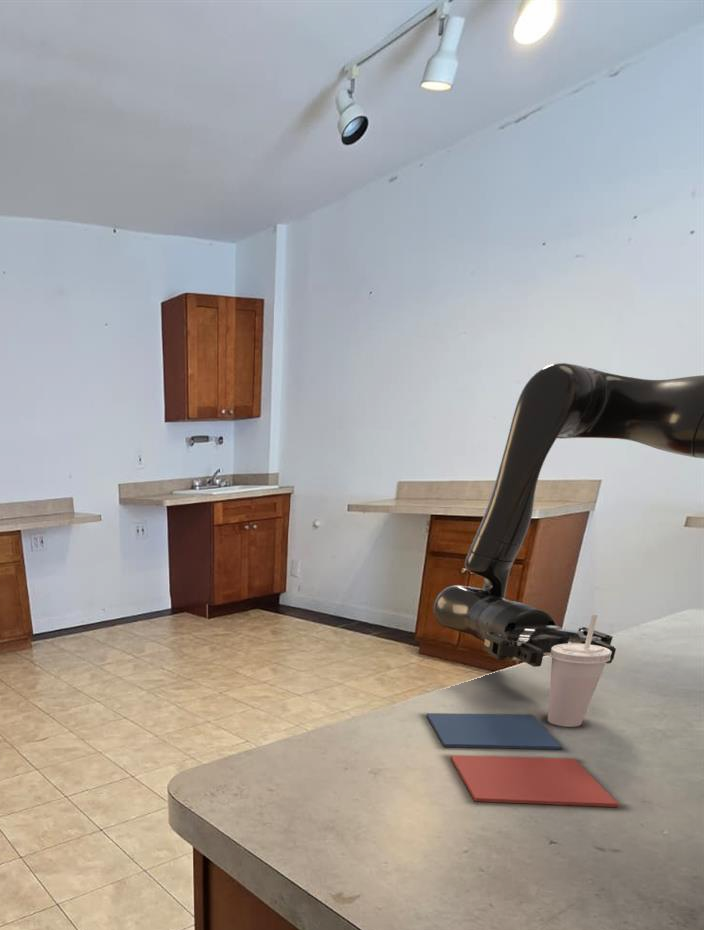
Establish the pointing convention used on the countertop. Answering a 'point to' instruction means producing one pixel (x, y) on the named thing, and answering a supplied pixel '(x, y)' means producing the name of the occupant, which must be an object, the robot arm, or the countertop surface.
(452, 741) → the blue mat
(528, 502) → the robot arm
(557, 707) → the smoothie
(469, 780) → the red mat
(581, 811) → the countertop surface
